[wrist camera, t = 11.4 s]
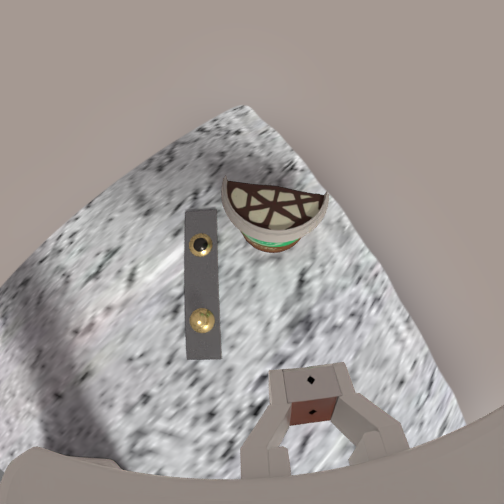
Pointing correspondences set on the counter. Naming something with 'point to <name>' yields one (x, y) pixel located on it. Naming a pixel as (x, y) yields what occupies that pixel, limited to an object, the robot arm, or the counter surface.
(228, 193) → the food container
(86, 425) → the counter surface
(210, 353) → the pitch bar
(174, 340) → the counter surface
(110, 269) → the counter surface
